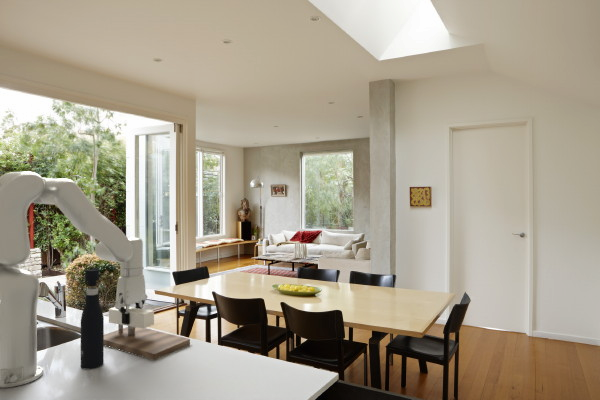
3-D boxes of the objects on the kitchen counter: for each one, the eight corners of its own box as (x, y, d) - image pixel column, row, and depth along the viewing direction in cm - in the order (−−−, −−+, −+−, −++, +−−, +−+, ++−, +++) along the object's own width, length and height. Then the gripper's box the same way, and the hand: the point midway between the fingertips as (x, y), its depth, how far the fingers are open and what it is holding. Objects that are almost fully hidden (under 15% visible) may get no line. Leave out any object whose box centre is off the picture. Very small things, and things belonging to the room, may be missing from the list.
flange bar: (154, 324, 150) (154, 310, 150) (143, 328, 146) (143, 314, 146) (119, 318, 157) (119, 305, 157) (108, 322, 152) (108, 309, 152)
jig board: (189, 344, 148) (190, 323, 148) (154, 360, 134) (154, 337, 134) (133, 330, 163) (133, 311, 162) (95, 342, 149) (95, 322, 148)
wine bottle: (107, 361, 133) (107, 268, 132) (95, 369, 126) (96, 271, 126) (88, 360, 133) (88, 267, 133) (76, 368, 127) (76, 271, 126)
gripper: (141, 267, 160) (141, 314, 160) (104, 275, 144) (105, 327, 145) (156, 268, 157) (156, 316, 158) (121, 277, 141) (121, 330, 142)
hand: (131, 321), depth 151 cm, fingers closed on flange bar, 5 cm apart
